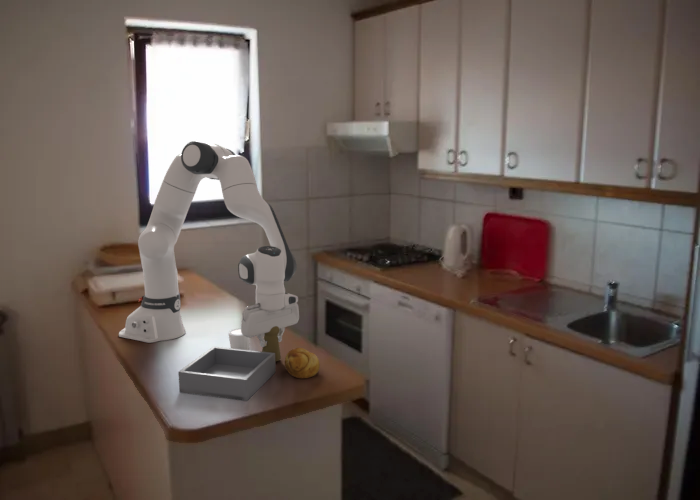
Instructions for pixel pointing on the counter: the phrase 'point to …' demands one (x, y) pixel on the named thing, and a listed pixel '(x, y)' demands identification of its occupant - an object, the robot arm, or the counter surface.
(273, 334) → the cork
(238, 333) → the shot glass
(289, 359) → the bread roll
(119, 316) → the counter surface
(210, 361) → the bin
